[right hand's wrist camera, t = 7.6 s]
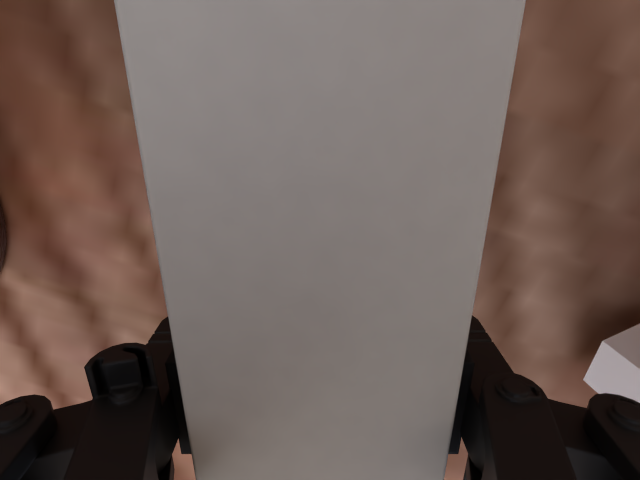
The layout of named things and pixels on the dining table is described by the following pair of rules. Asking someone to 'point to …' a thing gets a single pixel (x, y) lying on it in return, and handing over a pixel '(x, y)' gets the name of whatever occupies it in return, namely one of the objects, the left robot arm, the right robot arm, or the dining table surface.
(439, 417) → the bar
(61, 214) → the dining table surface
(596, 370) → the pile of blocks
